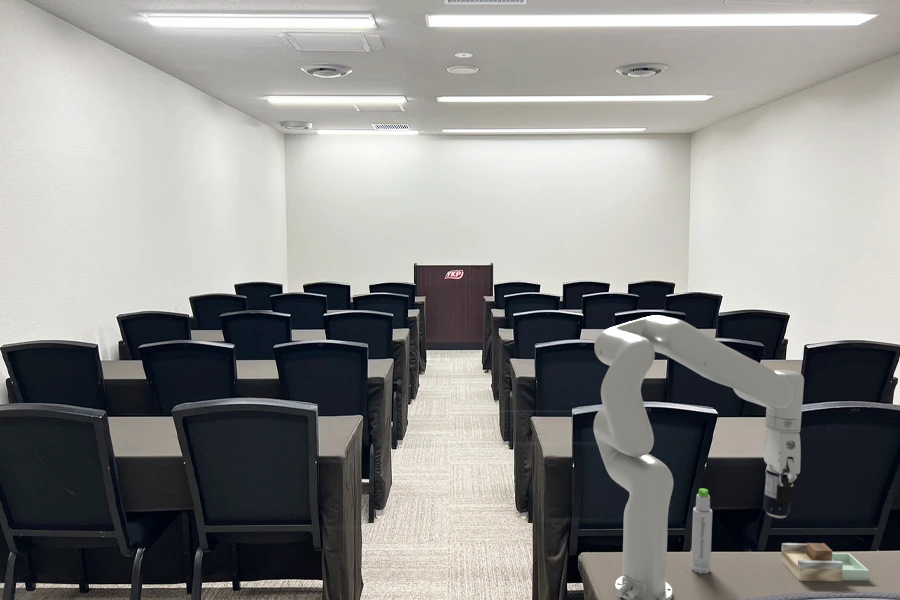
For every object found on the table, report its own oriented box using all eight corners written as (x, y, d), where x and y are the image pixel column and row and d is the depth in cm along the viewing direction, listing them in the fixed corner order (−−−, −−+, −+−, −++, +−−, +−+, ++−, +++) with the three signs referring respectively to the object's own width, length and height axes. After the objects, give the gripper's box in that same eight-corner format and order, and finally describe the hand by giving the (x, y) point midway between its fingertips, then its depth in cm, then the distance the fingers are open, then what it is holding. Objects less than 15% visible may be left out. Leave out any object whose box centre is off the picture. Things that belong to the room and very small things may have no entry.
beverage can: (792, 520, 166) (796, 470, 165) (766, 518, 167) (770, 468, 166) (785, 511, 171) (789, 463, 170) (761, 508, 172) (764, 461, 171)
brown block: (814, 562, 168) (815, 550, 168) (806, 554, 172) (807, 543, 172) (831, 562, 168) (832, 550, 168) (823, 555, 172) (824, 543, 172)
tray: (840, 580, 166) (841, 569, 166) (822, 562, 175) (822, 552, 174) (868, 580, 166) (868, 570, 165) (848, 562, 174) (849, 552, 174)
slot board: (799, 580, 166) (800, 562, 165) (780, 560, 176) (781, 543, 175) (841, 581, 165) (842, 562, 165) (821, 561, 175) (822, 543, 175)
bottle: (688, 570, 171) (691, 490, 169) (694, 563, 174) (697, 485, 172) (706, 575, 168) (710, 494, 166) (712, 568, 172) (715, 489, 170)
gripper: (816, 433, 158) (810, 511, 160) (783, 413, 175) (778, 484, 177) (782, 432, 158) (776, 510, 160) (752, 412, 176) (747, 483, 177)
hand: (777, 496), depth 169 cm, fingers closed on beverage can, 5 cm apart
